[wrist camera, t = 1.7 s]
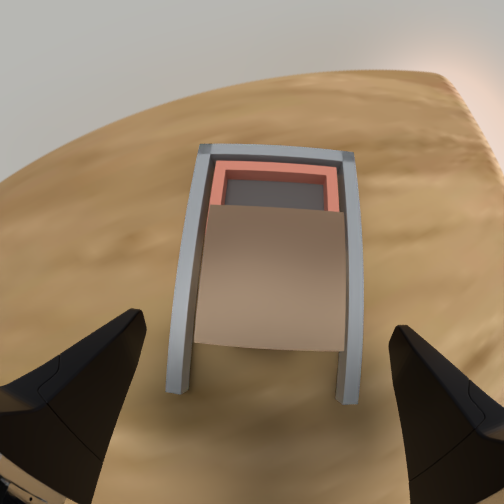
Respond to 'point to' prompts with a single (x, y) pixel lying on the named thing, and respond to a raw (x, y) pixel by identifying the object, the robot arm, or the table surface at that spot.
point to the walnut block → (273, 279)
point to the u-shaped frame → (194, 243)
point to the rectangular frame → (275, 185)
